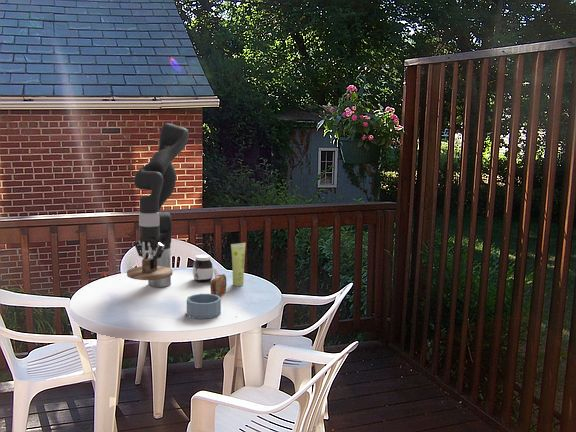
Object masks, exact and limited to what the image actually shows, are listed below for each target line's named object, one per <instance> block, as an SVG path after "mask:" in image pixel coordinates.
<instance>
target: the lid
mask: <svg viewBox="0 0 576 432" xmlns="http://www.w3.org/2000/svg"><path fill="white" fill-rule="evenodd" d="M150 260H151V258H150V257H148V258H147V259H143V258H142V259H141V266H136V267H132V268H130V269H128V270H127V271H126V276H127V277H128V278H130V279H133V280H138V281H148V280H158V279H163V278H167V277H170V276H171V277H172V276H173V272H174V271H173V269H172V268H171V269H170V268H168V267H163V266H157V259H156V268H155V269H153V270H152V269H150Z"/></svg>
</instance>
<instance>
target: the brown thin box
mask: <svg viewBox="0 0 576 432" xmlns="http://www.w3.org/2000/svg"><path fill="white" fill-rule="evenodd" d="M226 277H227V276H226V275H225V274H219V275H217V276H216V277H215V276H214V278H212V280H210V281H211V282H210V294H214V295H218V296H219V297H221V298H222V296H223V295H224V294H225V293H226V290H227V278H226Z"/></svg>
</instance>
